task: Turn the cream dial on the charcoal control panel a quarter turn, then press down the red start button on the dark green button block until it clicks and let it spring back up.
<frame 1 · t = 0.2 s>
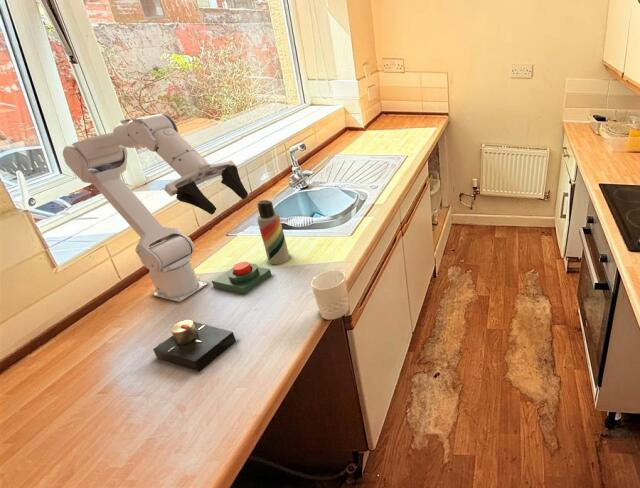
hand: (230, 203, 89), 31 cm above the worktop, tool tilted 45°, fingers open, 7 cm apart
white cup: (335, 311, 103), on the worktop
button block: (243, 281, 114), on the worktop
start button: (242, 268, 112), point 5 cm above the worktop, slide at 0.1 cm
lotion bottle: (279, 259, 124), on the worktop
dial: (184, 331, 89), point 5 cm above the worktop, hinge at 0.0°
dial panel: (198, 350, 90), on the worktop
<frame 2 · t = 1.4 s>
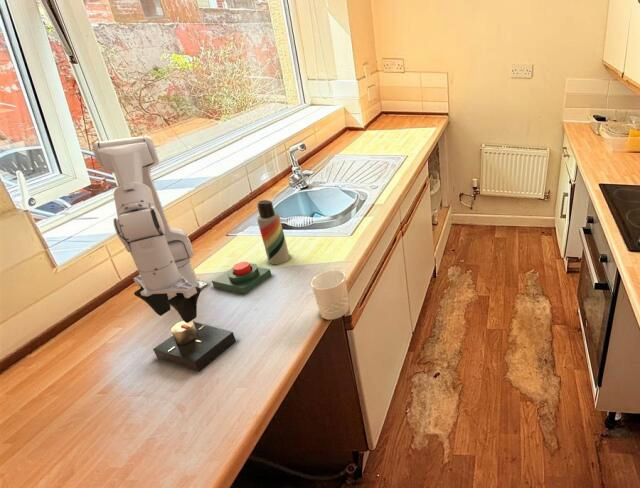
hand: (177, 316, 87), 9 cm above the worktop, tool pointing down, fingers open, 7 cm apart
nothing on the worktop moved.
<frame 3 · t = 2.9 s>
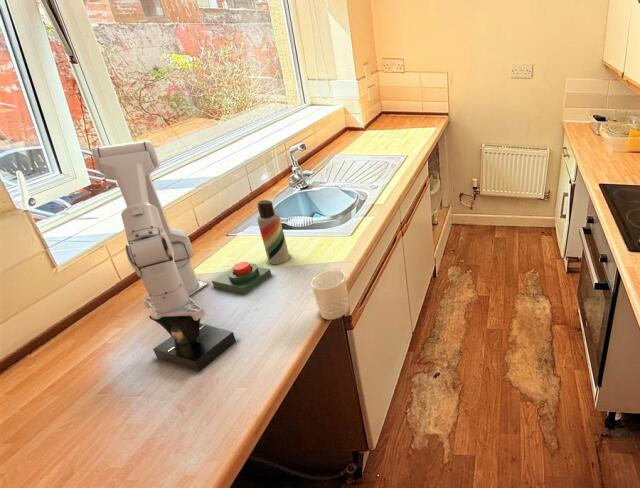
hand: (186, 336, 90), 4 cm above the worktop, tool pointing down, fingers closed on dial, 4 cm apart
dial: (184, 331, 89), point 5 cm above the worktop, hinge at -0.2°, touching gripper
everything else where it was.
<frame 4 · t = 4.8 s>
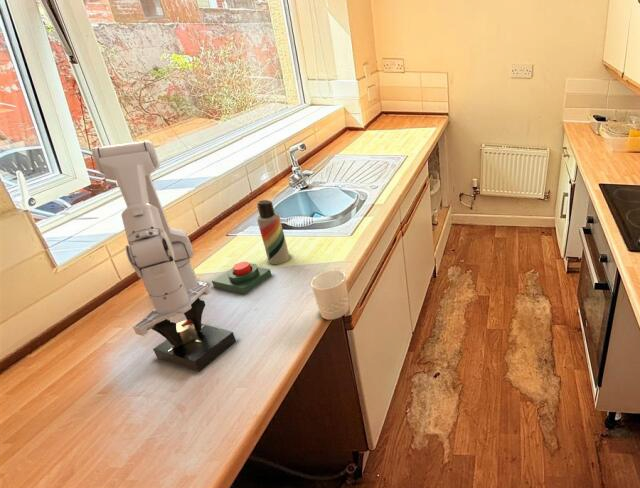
hand: (186, 337, 90), 3 cm above the worktop, tool pointing down, fingers closed on dial, 4 cm apart
dial: (184, 331, 89), point 5 cm above the worktop, hinge at 90.1°, touching gripper
everything else where it was.
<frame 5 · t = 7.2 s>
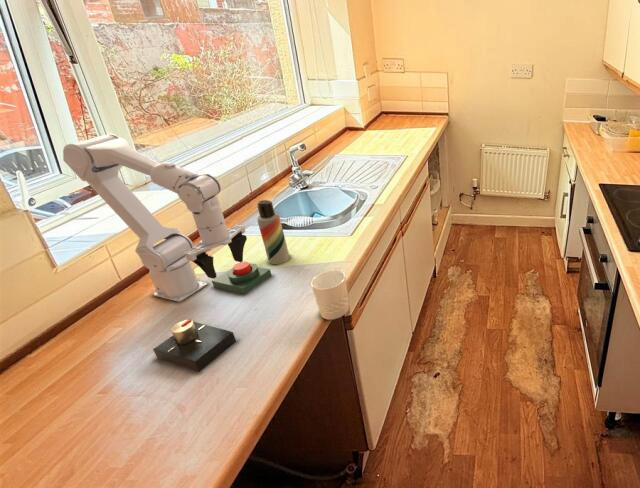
hand: (226, 268, 104), 9 cm above the worktop, tool pointing down, fingers open, 7 cm apart
dial: (184, 331, 89), point 5 cm above the worktop, hinge at 90.5°
everything else where it was.
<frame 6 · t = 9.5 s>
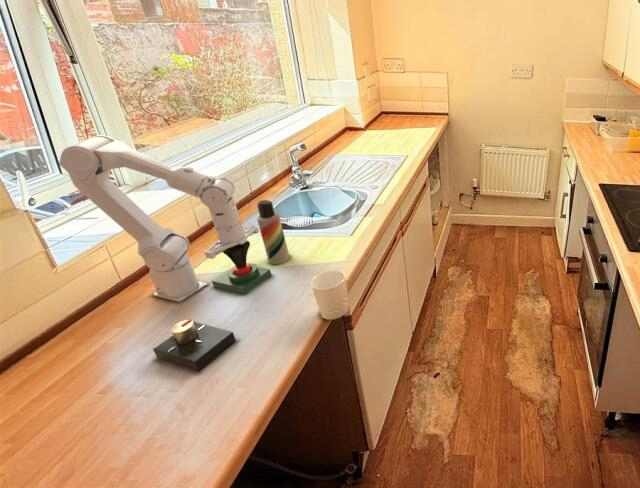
hand: (241, 266, 111), 5 cm above the worktop, tool pointing down, fingers closed, pressing on start button
start button: (242, 269, 112), point 4 cm above the worktop, slide at -0.3 cm, touching gripper
everything else where it was.
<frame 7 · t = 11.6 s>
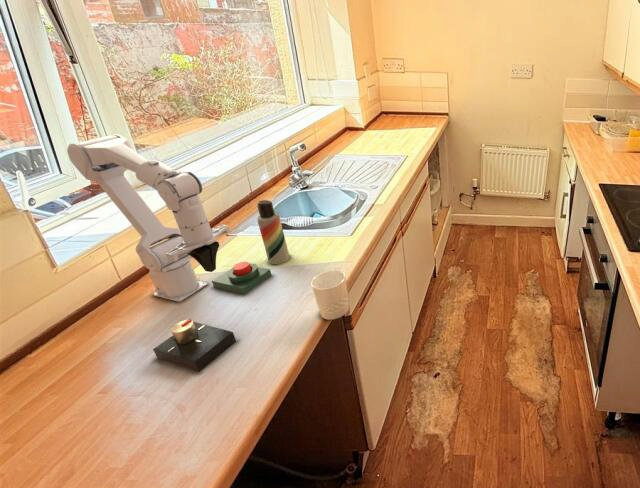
hand: (210, 270, 101), 10 cm above the worktop, tool pointing down, fingers closed
start button: (242, 268, 112), point 5 cm above the worktop, slide at 0.1 cm
everything else where it was.
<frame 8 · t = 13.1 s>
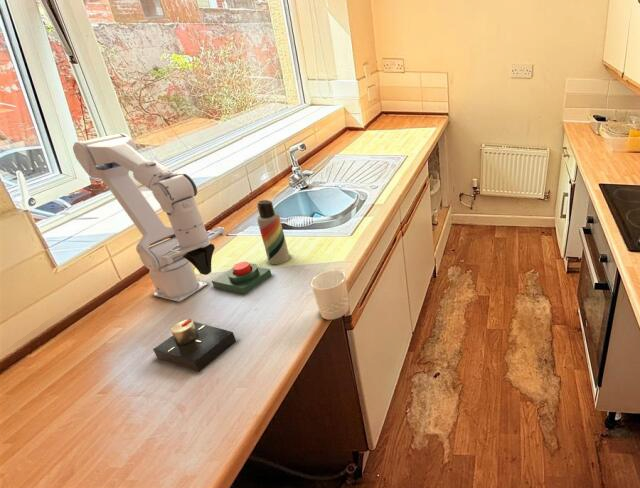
hand: (206, 272, 100), 10 cm above the worktop, tool pointing down, fingers closed
nothing on the worktop moved.
at the end: dial at +90° (first picture: +0°); start button pushed in 1.2 cm at the most during the clip, back to where it started at the end; start button slide at 0.1 cm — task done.
